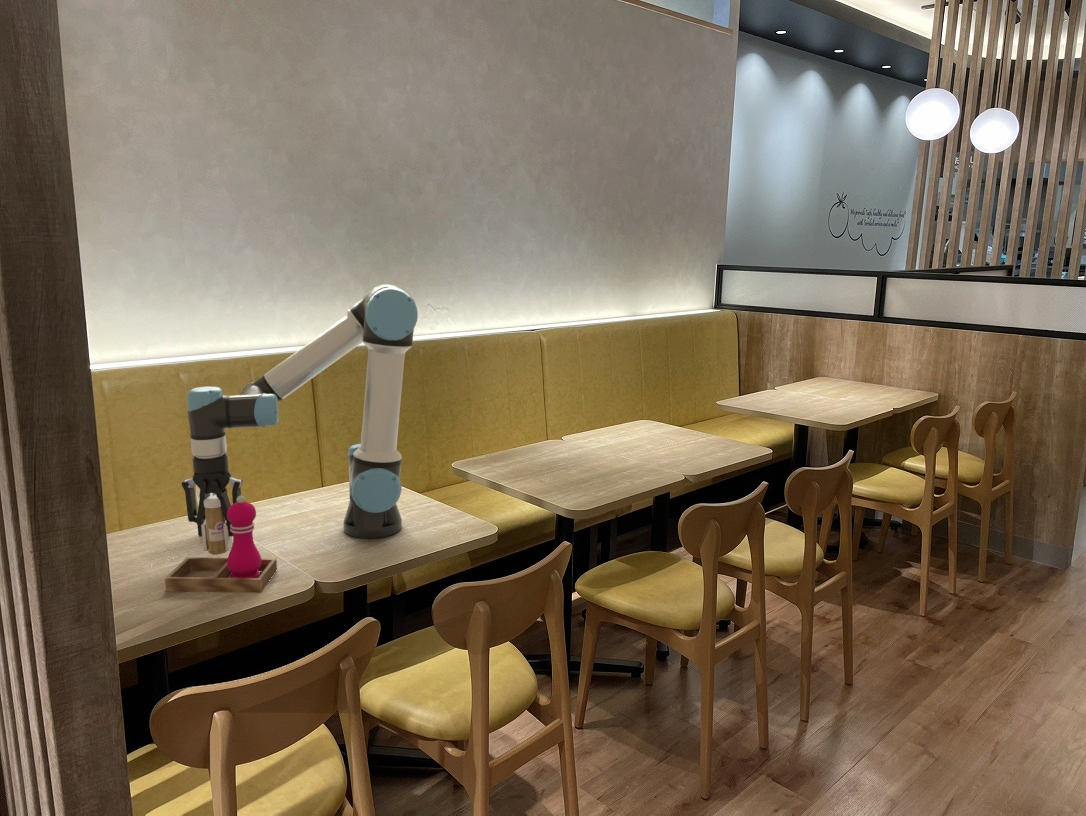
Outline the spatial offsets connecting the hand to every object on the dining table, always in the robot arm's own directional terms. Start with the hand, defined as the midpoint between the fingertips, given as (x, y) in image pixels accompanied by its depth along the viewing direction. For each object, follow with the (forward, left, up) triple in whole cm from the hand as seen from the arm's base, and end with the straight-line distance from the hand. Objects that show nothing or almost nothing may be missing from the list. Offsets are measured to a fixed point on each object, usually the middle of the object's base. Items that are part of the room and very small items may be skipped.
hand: (218, 548), depth 192 cm
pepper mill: (-10, +12, -3) cm, 16 cm away
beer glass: (+8, -17, -3) cm, 19 cm away
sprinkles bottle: (0, 0, -1) cm, 1 cm away
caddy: (-5, +12, -3) cm, 14 cm away
